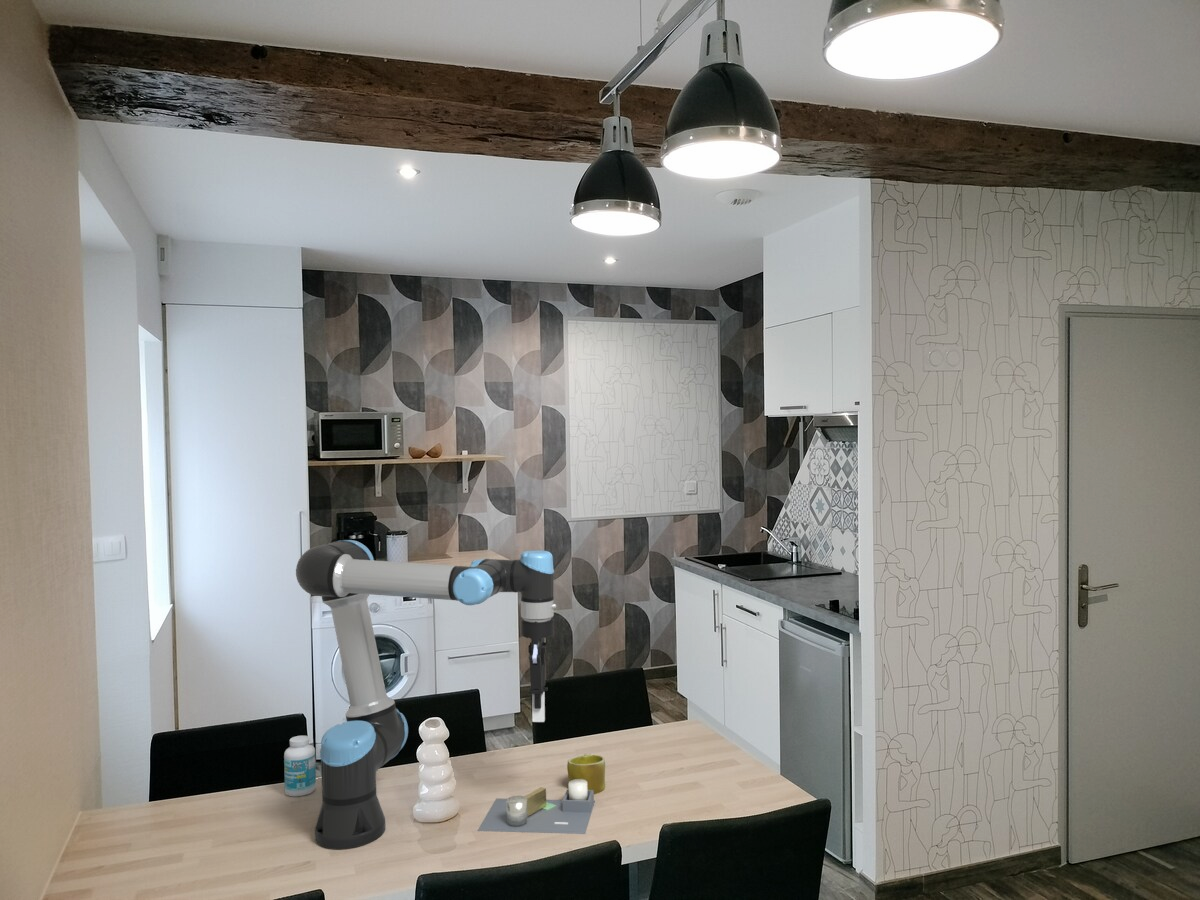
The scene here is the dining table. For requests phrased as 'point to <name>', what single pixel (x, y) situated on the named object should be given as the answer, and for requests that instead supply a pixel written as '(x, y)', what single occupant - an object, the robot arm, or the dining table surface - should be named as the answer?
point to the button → (578, 789)
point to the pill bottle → (299, 767)
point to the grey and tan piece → (524, 806)
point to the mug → (588, 771)
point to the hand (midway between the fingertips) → (538, 720)
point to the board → (544, 817)
